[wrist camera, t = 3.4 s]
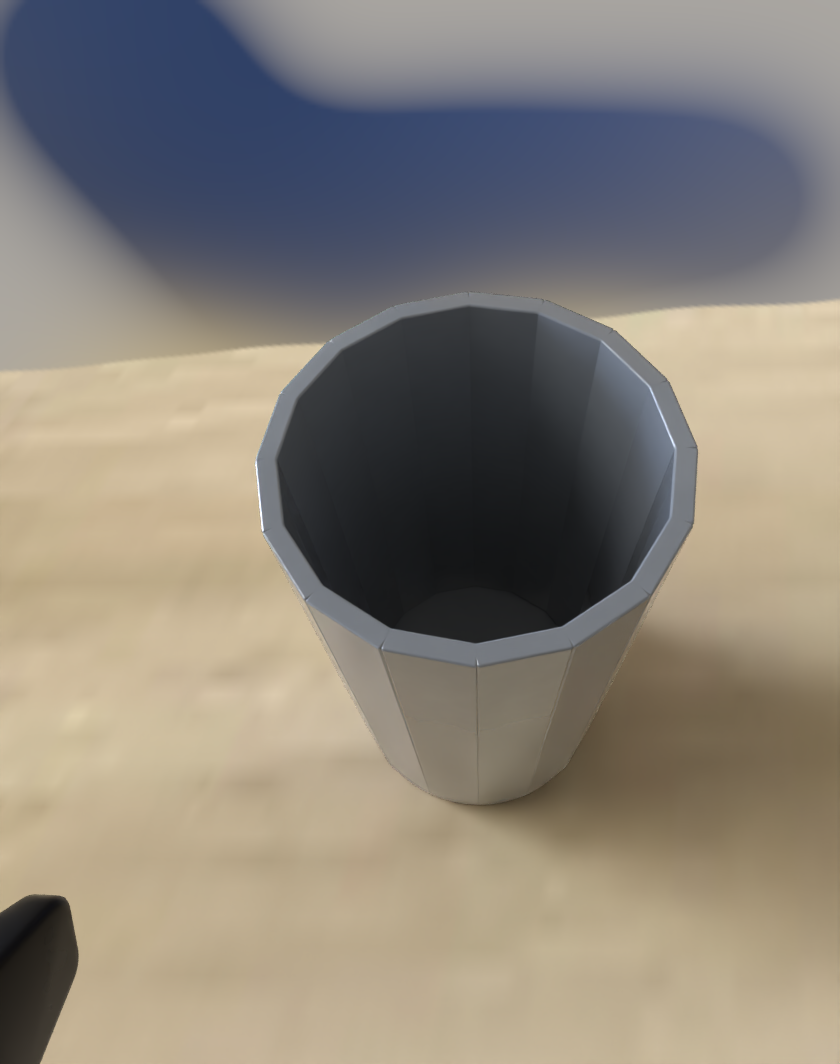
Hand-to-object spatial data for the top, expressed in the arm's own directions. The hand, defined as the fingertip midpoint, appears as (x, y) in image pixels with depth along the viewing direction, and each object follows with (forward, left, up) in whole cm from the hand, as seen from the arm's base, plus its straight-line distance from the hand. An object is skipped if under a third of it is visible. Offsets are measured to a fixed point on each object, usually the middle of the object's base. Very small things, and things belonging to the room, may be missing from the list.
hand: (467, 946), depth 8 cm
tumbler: (+4, -6, -13) cm, 15 cm away
